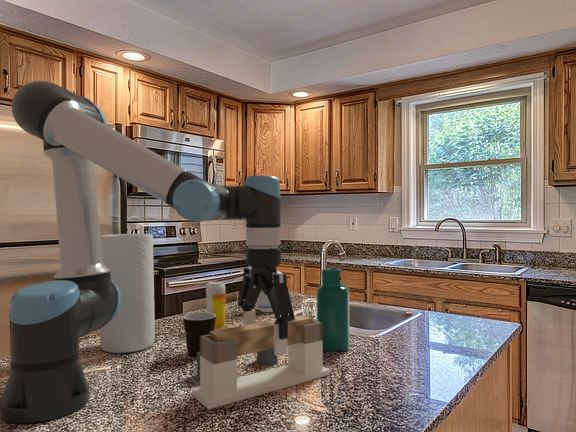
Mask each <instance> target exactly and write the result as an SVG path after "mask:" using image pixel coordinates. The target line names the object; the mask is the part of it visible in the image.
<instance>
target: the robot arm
mask: <svg viewBox="0 0 576 432" xmlns="http://www.w3.org/2000/svg"><path fill="white" fill-rule="evenodd" d="M11 113H12V117H13V119H14V122H15V123H16V124H17V125H18V126H19V128H20V129H22V130H23V131H24V132H26V133H27V134H29V135H31V136H33V137H35V138H38V139H40V140H42V143H43V144H42V145H43V154H44V155H45V156H46V157H47V158H49V159H50V161H51V162H52V173H53V186H54V199H55V212H56V223H57V224H56V225H57V235H58V236H57V237H58V249H59V259H60V260H59V261H60V263H59V264H60V268H59V270H57V272H56V273H55V274H54V275H53V280H49V281H43V282H41V283H40V282H39V283H38V282H37V283H33V284H30V285H27V286H24V287H21V288H20V289H17V290H16V291H15V292H14V293H13V295H11V298H10V305H9V311H8V319H9V339H10V340H9V344H10V347H9V348H10V350H9V351H10V352H9V353H10V355H9V356H10V372H9V375H8V379H7V381H6V385H5V388H4V390H3V392H2V396H1V399H0V419H1V420H2V421H4V422H6V423H10V424H34V423H42V422H47V421H51V420H54V419H60V418H62V417H65V416H67V415H70V414H72V413H74V412H76V411H77V410H79V409H81V408H82V407H84V406H85V405H87V403H88V402H89V400H90V385H89V382H88V380H87V378H86V375H85V372H84V370H83V366H82V365H81V362H80V338H82V337H84V336H86V335H88V334H90V333H92V332H96V331H98V330H100V329H101V328H102V327H104V326H105V325H106V324H108V323H109V322H110V321H111V320H113V319H114V317H115V316H116V315H117V313H118V311H119V309H120V306H121V293H120V290H119V288H118V286H117V285H116V284H115V283H114V282H113V281H112V280H111V273H110V269H109V268H108V267H106V266H105V265H104V264H103V262H102V250H101V228H100V226H101V225H100V214H99V213H100V212H99V203H98V189H97V176H96V175H97V174H96V165H97V166H99V167H100V168H102V169H104V170H106V171H107V172H110V173H111V174H113V175H115V176H117V177H118V178H120V179H122V180H123V181H125V182H127V183H129V184H131V185H132V186H134V187H136V188H137V189H140V190H142V191H143V192H145V193H147V194H148V195H150V196H152V197H154V198H155V199H157V200H159V201H161V202H162V203H164V204H166V205H167V206H170V207H171V208H172V209H174V210H175V211H176V213H177V214H178V215H179V216H180V217H181V218H184V220H189V221H190V222H195V223H201V222H210V221H235V220H236V221H237V220H239V221H242V220H245V223H246V224H245V245H246V246H247V247H248V248H247V249H246V250H245V252H246V254H245V258H246V259H245V260H246V261H245V262H246V265H247V266H248V267H244V268H243V278H242V283H241V287H240V291H239V297H238V301H237V305H238V307H239V308H240V307H241V310H242V311H243V326H244V325H250V324H256V322H257V321H256V320H257V319H256V315H257V313H256V303H257V302H258V296H259V294H260V292H261V291H263V292H264V294H265V295H267V297H268V299H269V302H270V305H271V307H272V310H273V312H272V313H273V315H274V317H275V320H276V321H275V322H274V355H276V356H277V357H278V356H282V355H285V354H288V345H287V338H288V322H289V321H294V320H295V317H296V316H295V312H294V308H293V304H292V299H291V296H290V292H289V288H288V284H287V283H288V282H287V274H286V272H282V273H277V271H278V270H277V267H278V266H280V265H281V263H282V249H281V248H280V247H279V246H281V244H282V243H281V234H282V233H281V221H282V220H281V210H282V209H281V206H282V205H281V203H282V200H281V199H282V197H281V185H280V179H279V178H278V177H277V176H275V175H266V174H263V175H261V174H260V175H249V176H247V177H246V178H245V182H244V184H242V185H218V184H214V183H212V182H211V183H210V182H208V181H207V180H205V179H203V178H201V177H199V175H196V174H194V173H193V172H190V171H189V170H186V169H185V168H183V167H181V166H179V165H177V164H176V163H175V162H172V161H171V160H169V159H167V158H165V157H164V156H161V155H160V154H158V153H157V152H155V151H153V150H152V149H149V148H147V147H146V146H144V145H142V144H141V143H139V142H137V141H135V140H133V139H132V138H129V136H126V135H124V134H123V133H121V132H119V131H117V130H115V129H114V128H112V127H110V126H108V122H107V117H106V115H105V113H104V112H103V110H102V109H101V108H100V107H99V106H98V105H97V104H95V103H94V102H93V101H91V100H90V99H89V98H87V97H84V96H82V95H80V94H76V93H74V92H73V91H70V90H68V89H66V88H65V87H62V86H61V85H58V84H57V83H53V82H50V81H44V80H35V81H31V82H27V83H25V84H23V85H22V86H20V87H19V88H18V89H17V90H16V92H15V93H14V96H13V97H12V101H11ZM273 287H274V288H273Z"/></svg>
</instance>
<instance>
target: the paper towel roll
mask: <svg viewBox="0 0 576 432" xmlns="http://www.w3.org/2000/svg"><path fill="white" fill-rule="evenodd" d="M100 237H101V250H102V262H103V264H104V265H105V266H106V267H108V268H109V269H110V273H111V280H112V281H113V282H114V283H115V284H116V285H117V286H118V288H119V290H120V293H121V306H120V309H119V311H118V313H117V315H116V316H115V317H114V319H113V320H111V321H110V322H109V323H108V324H106V325H105V326H104V327H102V328H101V329H99V330H100V347H101V349H102V350H103V351H105V353H106V352H107V353H113V354H128V353H134V352H139V351H143V350H145V349H148V348H150V347H151V346H152V345H153V344H154V343H155V335H156V333H155V325H156V323H155V322H156V321H155V320H156V319H155V273H154V238H153V237H154V235H153V234H151V233H120V234H119V233H118V234H116V233H115V234H103V235H101V234H100Z"/></svg>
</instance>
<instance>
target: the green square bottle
mask: <svg viewBox="0 0 576 432" xmlns="http://www.w3.org/2000/svg"><path fill="white" fill-rule="evenodd" d="M341 272H343V269H342V268H339V267H327V268H324V269H322V270H321V285H320V286H319V287H318V288H317V290H316V316H317V317H316V321H318V322H321V323H322V342H323V351H328V352H331V351H332V352H346V351H348V350H349V347H350V335H351V334H350V288H349V286H348V285H346V284H344V283H341Z"/></svg>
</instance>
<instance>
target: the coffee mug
mask: <svg viewBox="0 0 576 432" xmlns="http://www.w3.org/2000/svg"><path fill="white" fill-rule="evenodd" d="M182 319H183V328H184V337H185V345H186V351H187V357H191V358H194V359H195V358H196V359H197V352H200V336H203V335H209V334H210V331H214V330H215V320H216V315H215V314H213V313H206V312H195V313H193V312H191V313H188V314H186V315H183V316H182Z"/></svg>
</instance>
